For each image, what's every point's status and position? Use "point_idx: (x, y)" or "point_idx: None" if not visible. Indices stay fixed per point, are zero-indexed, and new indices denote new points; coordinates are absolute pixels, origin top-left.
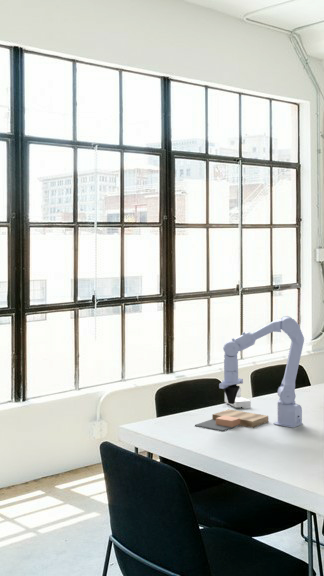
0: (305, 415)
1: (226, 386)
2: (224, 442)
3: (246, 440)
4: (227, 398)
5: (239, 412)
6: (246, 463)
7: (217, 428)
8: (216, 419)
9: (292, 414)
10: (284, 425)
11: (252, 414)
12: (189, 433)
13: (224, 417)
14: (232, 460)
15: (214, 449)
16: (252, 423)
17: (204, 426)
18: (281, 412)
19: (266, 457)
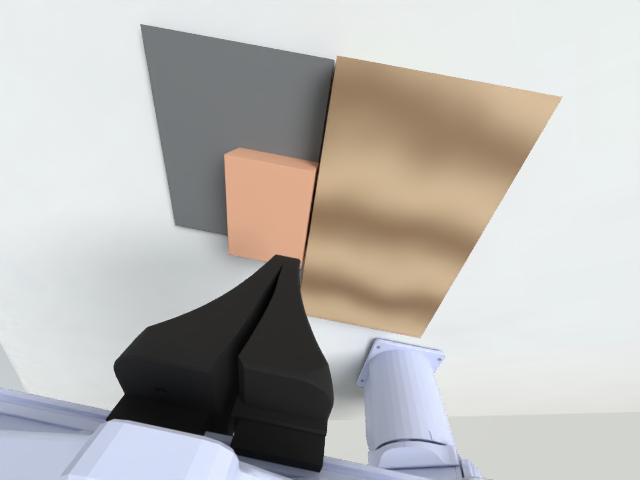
0: (555, 388)
1: (72, 430)
2: (84, 273)
3: (155, 316)
4: (256, 272)
5: (459, 211)
6: (28, 352)
7: (180, 192)
8: (227, 158)
9: (367, 425)
10: (364, 367)
11: (426, 282)
12: (27, 92)
13: (269, 195)
14: (10, 329)
15: (12, 273)
16: None
17: (159, 110)
18: (374, 406)
19: (92, 371)
